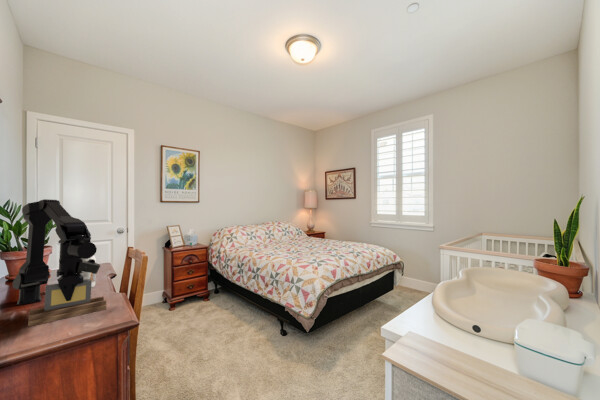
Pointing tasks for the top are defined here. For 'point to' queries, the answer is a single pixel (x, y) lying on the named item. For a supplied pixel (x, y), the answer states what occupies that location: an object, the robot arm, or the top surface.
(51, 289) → the photo frame
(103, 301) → the picture ledge
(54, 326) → the top surface
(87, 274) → the bath foam
